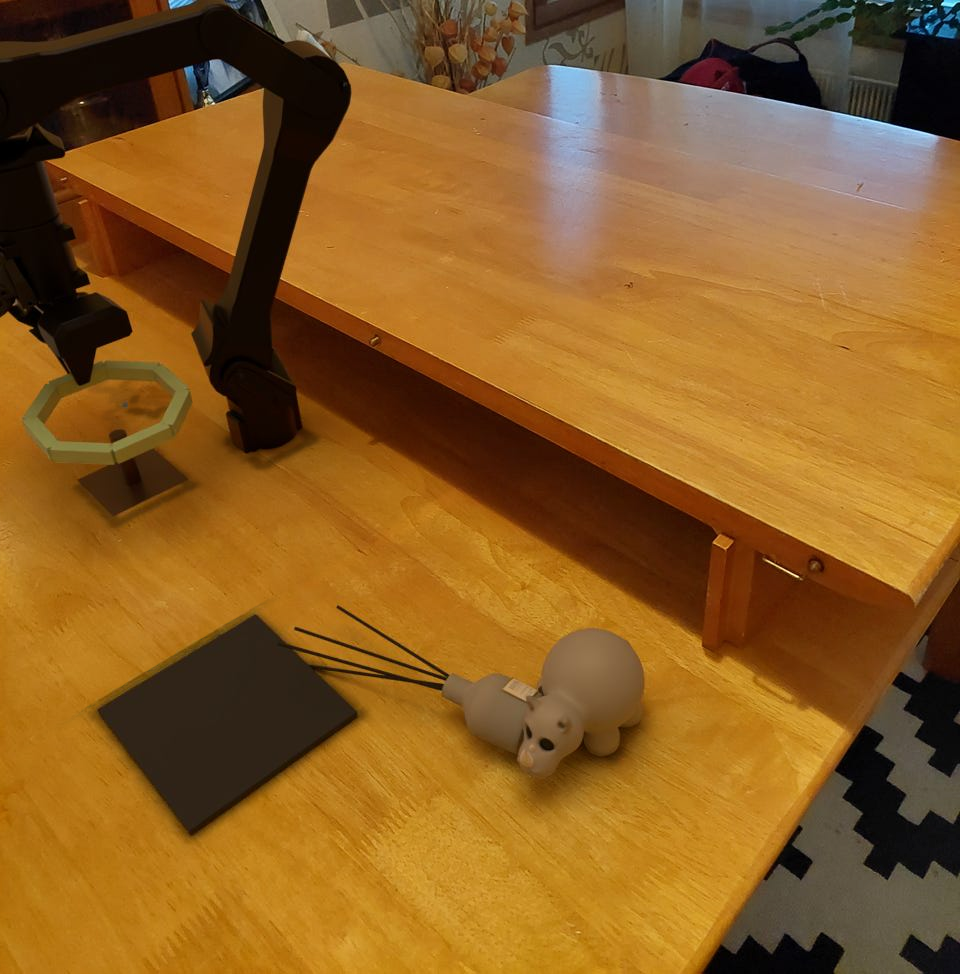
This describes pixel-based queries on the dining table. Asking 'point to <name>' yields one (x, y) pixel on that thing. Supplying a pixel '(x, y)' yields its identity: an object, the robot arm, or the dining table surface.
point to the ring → (120, 448)
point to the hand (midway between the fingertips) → (80, 380)
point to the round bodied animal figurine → (582, 699)
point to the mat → (225, 720)
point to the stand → (131, 479)
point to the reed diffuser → (456, 692)
